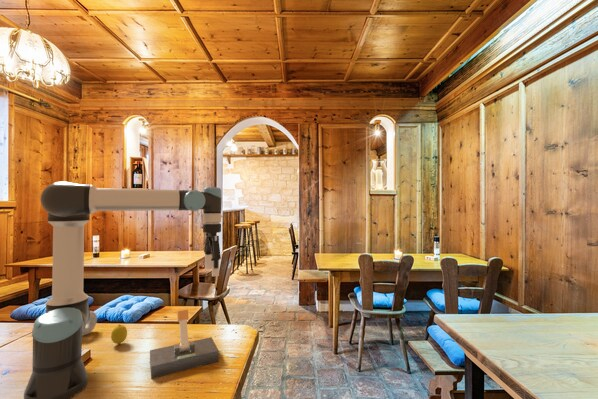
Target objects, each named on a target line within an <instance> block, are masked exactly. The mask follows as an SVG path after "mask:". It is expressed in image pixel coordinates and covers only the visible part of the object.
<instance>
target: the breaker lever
mask: <svg viewBox="0 0 598 399" xmlns="http://www.w3.org/2000/svg"><path fill="white" fill-rule="evenodd" d="M176 316H177V317H176V321H177V322H178V323H179V340H180V351H182V350H186V349H189V335H188V334H189V333H188V320H189V309H184V310H178V311H177V312H176Z"/></svg>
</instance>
